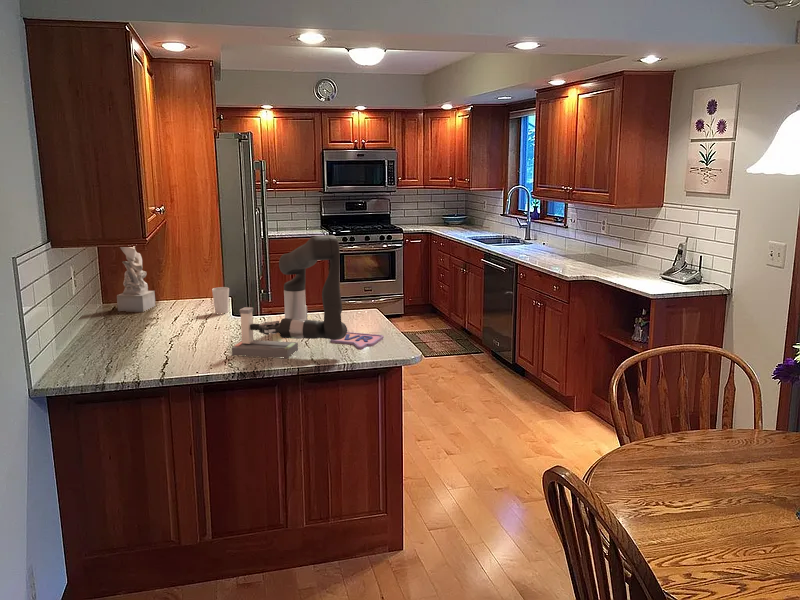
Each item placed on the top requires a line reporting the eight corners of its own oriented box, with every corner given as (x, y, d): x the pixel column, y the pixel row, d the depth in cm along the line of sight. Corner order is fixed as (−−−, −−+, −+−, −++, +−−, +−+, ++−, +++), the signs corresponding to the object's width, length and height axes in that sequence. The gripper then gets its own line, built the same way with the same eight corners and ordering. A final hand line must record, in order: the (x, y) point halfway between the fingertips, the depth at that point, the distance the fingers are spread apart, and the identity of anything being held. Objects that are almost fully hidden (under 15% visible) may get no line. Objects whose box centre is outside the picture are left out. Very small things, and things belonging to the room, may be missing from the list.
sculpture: (155, 306, 339) (150, 237, 332) (143, 312, 326) (138, 240, 319) (130, 305, 340) (125, 237, 333) (117, 311, 327) (111, 240, 320)
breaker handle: (245, 340, 260) (244, 307, 257) (254, 340, 259) (253, 307, 257) (240, 343, 256) (239, 309, 253) (249, 343, 255) (248, 310, 252)
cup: (232, 311, 328) (231, 287, 325) (226, 315, 320) (225, 290, 318) (216, 311, 329) (215, 287, 326) (210, 314, 321) (209, 290, 318)
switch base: (244, 346, 265) (244, 338, 264) (297, 349, 261) (297, 341, 260) (232, 355, 253) (231, 346, 252) (287, 358, 249) (287, 350, 248)
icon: (323, 343, 267) (343, 331, 286) (323, 346, 267) (343, 334, 286) (367, 347, 261) (385, 335, 280) (367, 351, 261) (385, 338, 280)
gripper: (299, 315, 258) (257, 313, 262) (287, 323, 246) (243, 321, 249) (300, 333, 260) (258, 332, 263) (288, 342, 247) (244, 340, 250)
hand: (250, 326), depth 256 cm, fingers closed
